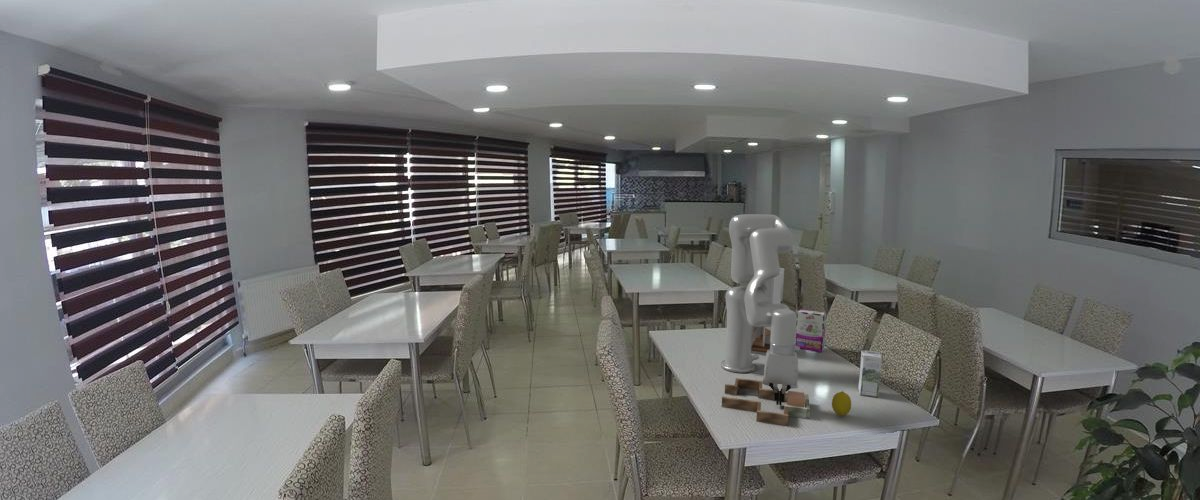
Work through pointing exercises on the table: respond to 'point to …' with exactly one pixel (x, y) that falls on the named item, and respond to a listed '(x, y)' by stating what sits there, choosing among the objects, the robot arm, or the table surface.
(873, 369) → the syrup box
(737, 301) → the robot arm
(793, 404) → the block
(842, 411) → the lemon
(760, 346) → the display case
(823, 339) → the candy bar box
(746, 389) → the wooden zigzag frame
